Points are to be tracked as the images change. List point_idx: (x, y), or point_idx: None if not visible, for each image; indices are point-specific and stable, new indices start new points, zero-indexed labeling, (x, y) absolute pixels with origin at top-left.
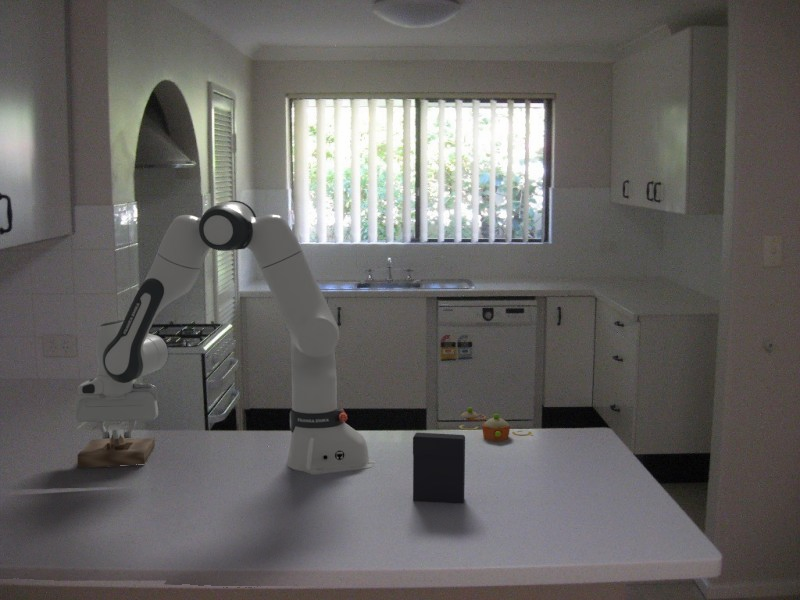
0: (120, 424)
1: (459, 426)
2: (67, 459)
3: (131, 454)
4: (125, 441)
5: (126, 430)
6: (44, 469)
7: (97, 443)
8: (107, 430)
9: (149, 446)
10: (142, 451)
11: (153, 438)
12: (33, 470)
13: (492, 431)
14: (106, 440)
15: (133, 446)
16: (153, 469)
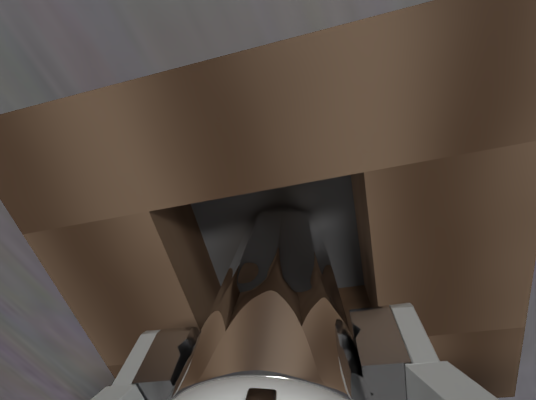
0: None
1: None
2: (28, 257)
3: None
4: (341, 301)
5: (370, 384)
6: (55, 372)
7: (87, 229)
8: (148, 385)
9: (531, 242)
10: (497, 370)
11: None
12: (27, 381)
13: None
14: (92, 138)
15: (401, 277)
16: (523, 360)
